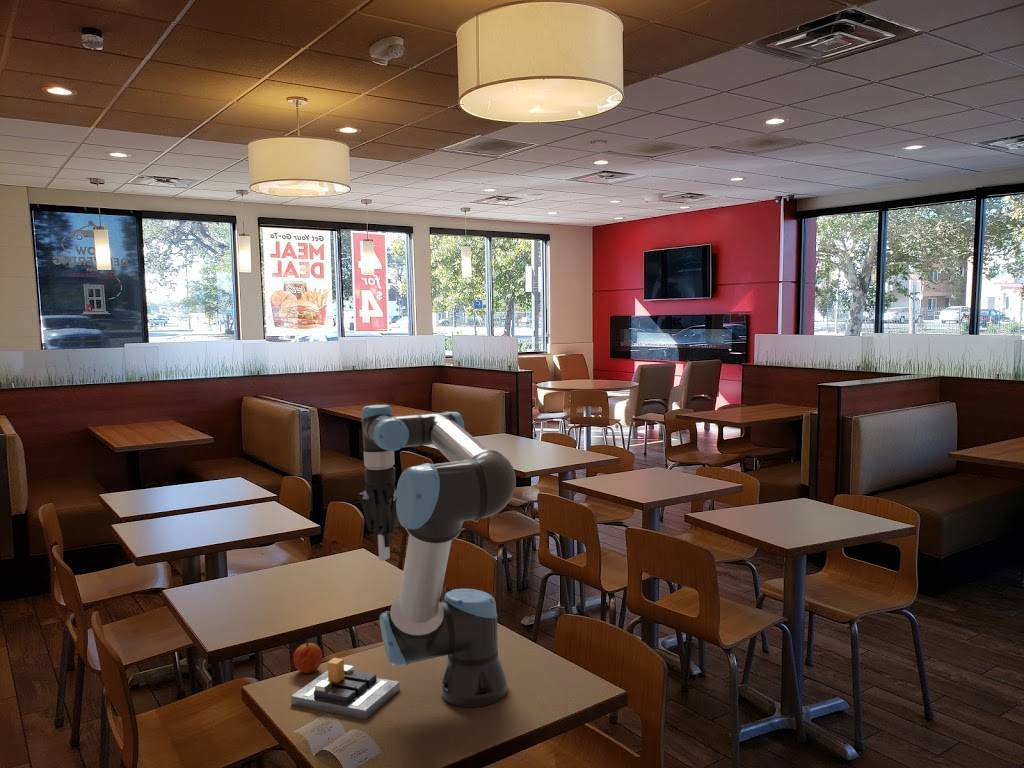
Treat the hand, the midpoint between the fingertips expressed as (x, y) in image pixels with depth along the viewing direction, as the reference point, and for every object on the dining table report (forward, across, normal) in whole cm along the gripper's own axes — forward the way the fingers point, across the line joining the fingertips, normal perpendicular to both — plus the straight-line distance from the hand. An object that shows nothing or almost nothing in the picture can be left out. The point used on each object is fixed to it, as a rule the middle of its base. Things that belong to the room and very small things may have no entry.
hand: (384, 558), depth 190 cm
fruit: (+27, +16, +12) cm, 33 cm away
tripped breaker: (+23, +1, +20) cm, 30 cm away
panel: (+26, -1, +20) cm, 33 cm away
